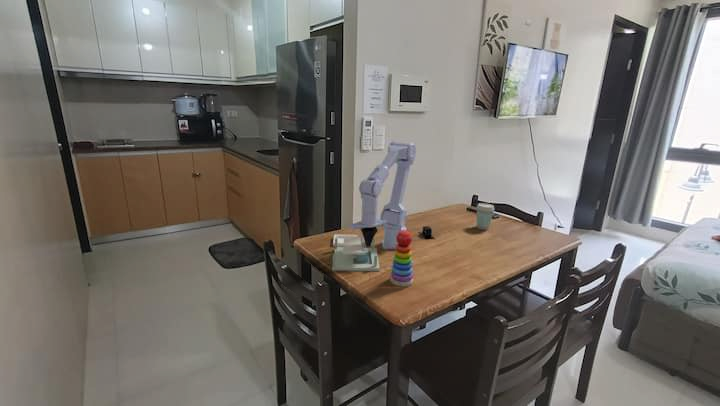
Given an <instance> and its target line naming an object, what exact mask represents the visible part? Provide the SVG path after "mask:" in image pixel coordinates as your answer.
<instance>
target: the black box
mask: <svg viewBox="0 0 720 406" xmlns="http://www.w3.org/2000/svg"><path fill="white" fill-rule="evenodd" d="M432 231H433V230H432V227H430V226H429V225H427V226H426V225H425V226H422V231H418V232H417V233H418V234H419V235H420V237H422V238H423V239H424V240H436V238H435V237H434V235H433V234H432Z"/></svg>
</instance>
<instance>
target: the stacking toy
mask: <svg viewBox="0 0 720 406" xmlns="http://www.w3.org/2000/svg"><path fill="white" fill-rule="evenodd" d="M396 239H397V242H398V244H397V245H396V249H395V252H394V256H393V261H392V266H391V273H390V277H389V281H390V283H391V284H392V285H394V286H397V287H401V288H403V287H409V286H411V285H412V284H413V283H414V272H413V262H412V261H413V257H412V255H413V253H412V246H411V243H412V241H413V236H412V234H411V232H409V231H408V230H406V231H400V232H399V233H398V234H397V237H396Z"/></svg>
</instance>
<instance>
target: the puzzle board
mask: <svg viewBox="0 0 720 406" xmlns="http://www.w3.org/2000/svg"><path fill="white" fill-rule="evenodd" d="M337 239H338V238H335V247H334V250H333V251H334V253H333V254H332V268H331V269H332V271H358V272H360V271H361V272H363V271H364V272H380V269H381V267H380V262H379V257H378V250H377V249H378V248H377V247H375V241H376V240H375V238H373V240H372V243H371V247H367V248H368V262H357V254H343V247H337Z"/></svg>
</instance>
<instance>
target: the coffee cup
mask: <svg viewBox="0 0 720 406" xmlns="http://www.w3.org/2000/svg"><path fill="white" fill-rule="evenodd" d="M494 212H495V206H494V204H490V203H486V202H481V203H478V204H477V206H476V228H477V229H479V230H482V231H487V230H489V229H490V226H491V223H492V222H491V221H492V219H493V215H494Z"/></svg>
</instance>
